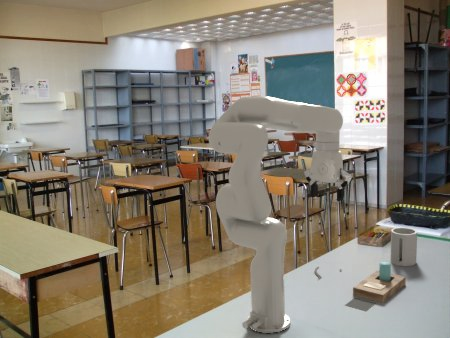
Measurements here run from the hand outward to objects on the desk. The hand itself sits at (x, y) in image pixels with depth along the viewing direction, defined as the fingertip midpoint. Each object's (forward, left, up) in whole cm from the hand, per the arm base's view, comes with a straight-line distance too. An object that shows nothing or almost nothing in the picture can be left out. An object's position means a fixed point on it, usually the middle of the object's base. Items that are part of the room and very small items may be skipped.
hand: (327, 198), depth 166 cm
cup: (+36, -12, -31) cm, 49 cm away
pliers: (+6, +3, -31) cm, 32 cm away
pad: (-8, -16, -30) cm, 35 cm away
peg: (+10, -16, -30) cm, 36 cm away
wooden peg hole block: (+6, -16, -30) cm, 35 cm away
